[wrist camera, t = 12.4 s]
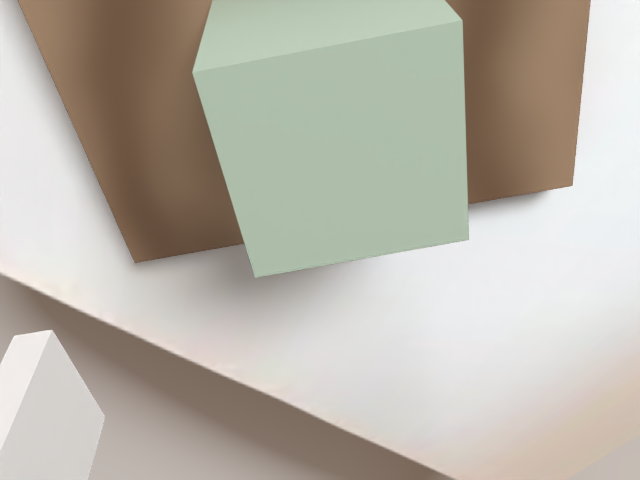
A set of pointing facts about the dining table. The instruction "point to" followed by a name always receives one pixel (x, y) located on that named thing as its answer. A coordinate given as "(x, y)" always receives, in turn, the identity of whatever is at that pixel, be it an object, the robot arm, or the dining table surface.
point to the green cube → (337, 126)
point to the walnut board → (195, 137)
